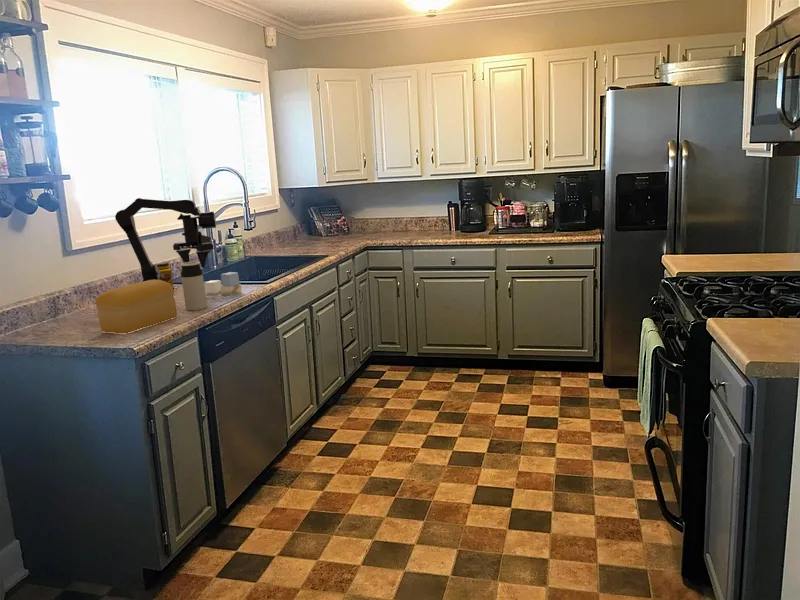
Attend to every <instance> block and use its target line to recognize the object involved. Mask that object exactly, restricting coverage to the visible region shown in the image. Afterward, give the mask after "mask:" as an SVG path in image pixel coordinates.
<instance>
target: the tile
mask: <svg viewBox="0 0 800 600" xmlns="http://www.w3.org/2000/svg"><path fill="white" fill-rule="evenodd" d="M239 296H241V294H237V295H236V294H235V295H229V296H222V299H229V298H230V299H232V298H236V297H239Z"/></svg>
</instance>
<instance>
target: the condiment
mask: <svg viewBox="0 0 800 600" xmlns="http://www.w3.org/2000/svg"><path fill="white" fill-rule="evenodd" d="M157 267H158V269H159V271H160V278H159V280H161V281H165V282H167V283H169V284H171V285H172V287H175V286H174V282H173V275H172V269H171V268H170V263H169V262H160V263H157ZM176 288H177V289H178V287H175V288H174V290H175V289H176Z"/></svg>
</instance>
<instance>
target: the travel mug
mask: <svg viewBox="0 0 800 600" xmlns="http://www.w3.org/2000/svg"><path fill="white" fill-rule="evenodd" d="M180 266H181V271H180V278H181V285H182V289H183V290H182V291H183V298H184V304H185V310H187V311H189V310H194V311H200V310H199V309H201V310H203V309H204V310H205V309H206V308H208V304H207V303H208V302H207V301H208V300H207V295H206V294H207V293H206V292H205V285H204V283H205V281H204V274H203V273H204V272H203V269H202V267H200V266H201V264H200V261H199V260H198V261H190V262H186V263H184V262H182V263H180Z"/></svg>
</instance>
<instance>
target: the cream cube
mask: <svg viewBox="0 0 800 600" xmlns="http://www.w3.org/2000/svg"><path fill="white" fill-rule="evenodd" d="M220 286H222V280H221V279H220V280H219V279H216V280H214V279H213V280H211V279H210V280H209V281H204V287H205V294H218V293H221V289H220Z"/></svg>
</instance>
